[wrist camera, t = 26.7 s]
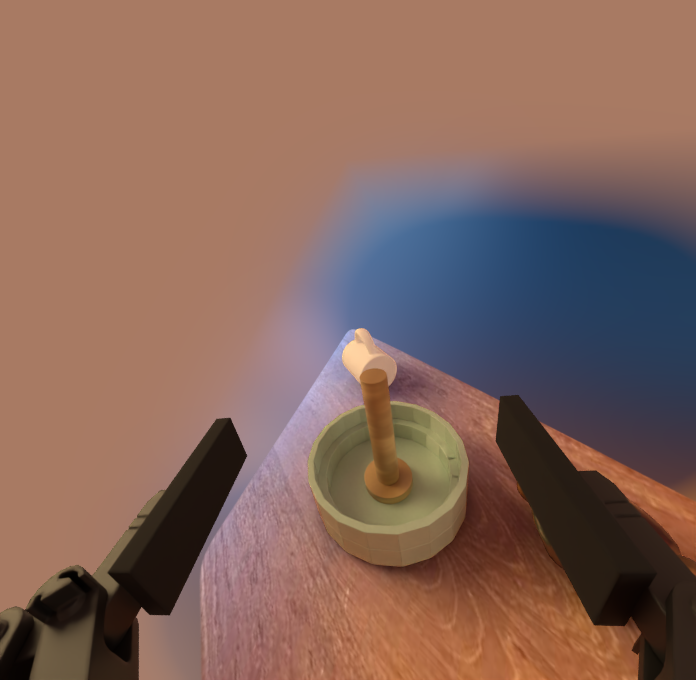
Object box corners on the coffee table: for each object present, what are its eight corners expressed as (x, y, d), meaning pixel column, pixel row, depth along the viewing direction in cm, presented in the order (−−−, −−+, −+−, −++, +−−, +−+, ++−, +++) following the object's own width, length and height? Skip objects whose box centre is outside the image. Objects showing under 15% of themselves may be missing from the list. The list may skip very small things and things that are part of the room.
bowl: (289, 528, 34) (275, 495, 32) (354, 422, 50) (348, 393, 47) (455, 608, 25) (456, 570, 23) (473, 448, 41) (474, 414, 38)
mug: (363, 398, 55) (354, 346, 50) (345, 375, 64) (335, 328, 59) (399, 384, 58) (393, 332, 53) (376, 364, 67) (369, 318, 62)
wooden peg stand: (357, 494, 36) (333, 388, 29) (375, 456, 41) (358, 358, 34) (405, 511, 33) (392, 397, 26) (417, 468, 38) (409, 363, 31)
